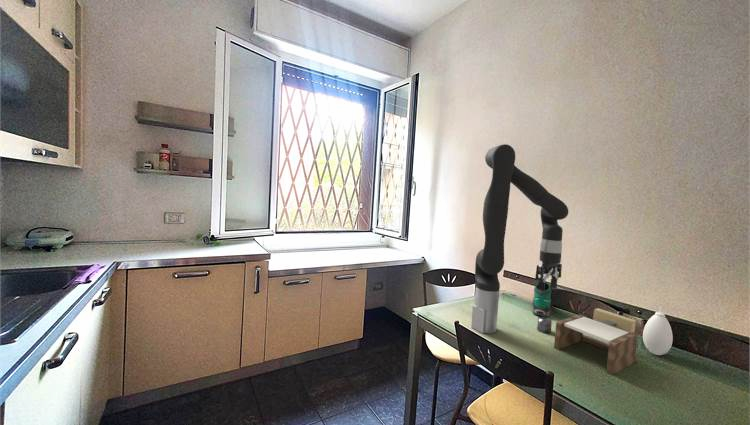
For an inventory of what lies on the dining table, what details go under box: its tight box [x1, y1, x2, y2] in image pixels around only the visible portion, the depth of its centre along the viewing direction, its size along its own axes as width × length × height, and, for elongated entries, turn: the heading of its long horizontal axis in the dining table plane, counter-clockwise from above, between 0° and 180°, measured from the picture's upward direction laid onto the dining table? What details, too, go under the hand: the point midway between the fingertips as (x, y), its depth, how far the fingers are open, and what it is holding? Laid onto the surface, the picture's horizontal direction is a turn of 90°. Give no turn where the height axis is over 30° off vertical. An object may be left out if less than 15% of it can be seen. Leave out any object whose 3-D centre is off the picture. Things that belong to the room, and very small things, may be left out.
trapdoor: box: [564, 308, 637, 345], centre depth 106 cm, size 22×14×6 cm, turn 119°
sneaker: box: [532, 281, 554, 318], centre depth 146 cm, size 9×24×15 cm, turn 144°
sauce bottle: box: [642, 306, 674, 356], centre depth 107 cm, size 8×8×18 cm
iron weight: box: [536, 316, 553, 335], centre depth 122 cm, size 5×5×5 cm
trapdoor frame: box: [553, 313, 639, 376], centre depth 105 cm, size 19×18×10 cm
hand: (547, 289), depth 121 cm, fingers open, 8 cm apart
